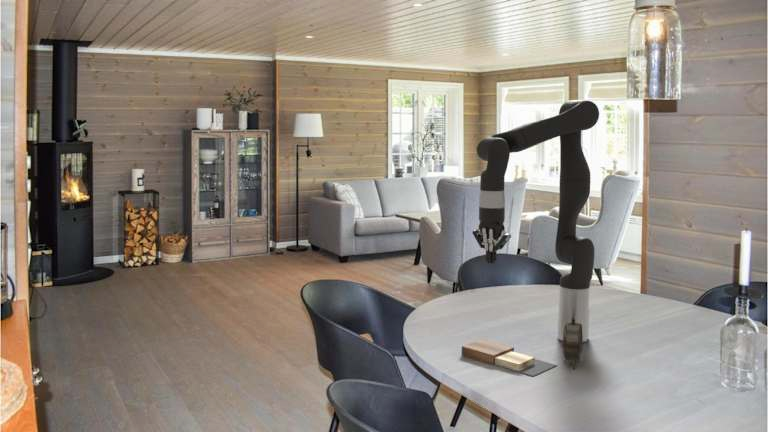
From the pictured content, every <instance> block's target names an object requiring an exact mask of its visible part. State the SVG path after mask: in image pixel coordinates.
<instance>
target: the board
mask: <svg viewBox="0 0 768 432" xmlns="http://www.w3.org/2000/svg"><path fill="white" fill-rule="evenodd" d="M510 351H513V352H515V347H513V346H511V345H510V346H509V345H507V344H502V343H500V342H495V341H492V340H488V339H485V338H481V339H478V340H475V341H473V342H469V343H466V344H463V345H461V356H462V357H463V358H467V359H470V360H473V361H476V362H477V361H478V362H480V363H484V364H487V365H490V366H495V365H494V364H495V357H498V356H500V355H503V354H505V353H507V352H510Z"/></svg>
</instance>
